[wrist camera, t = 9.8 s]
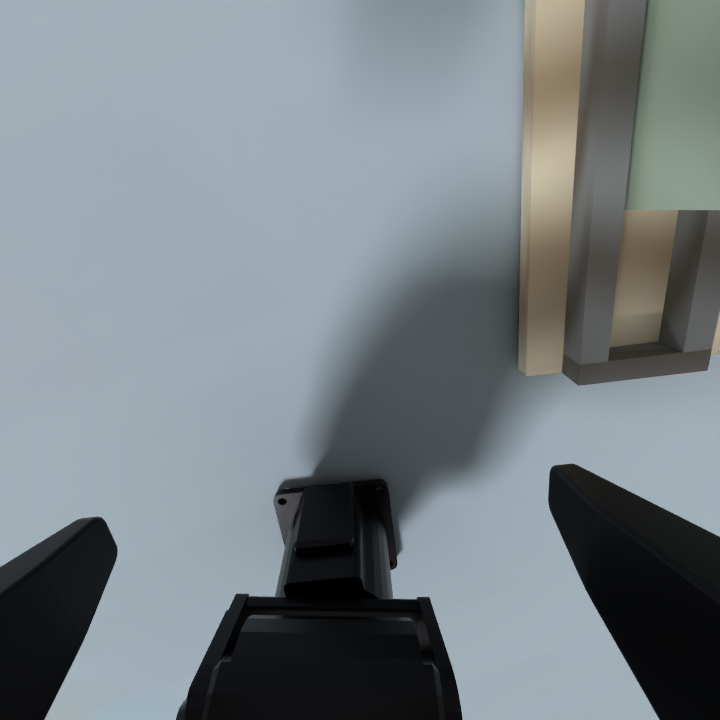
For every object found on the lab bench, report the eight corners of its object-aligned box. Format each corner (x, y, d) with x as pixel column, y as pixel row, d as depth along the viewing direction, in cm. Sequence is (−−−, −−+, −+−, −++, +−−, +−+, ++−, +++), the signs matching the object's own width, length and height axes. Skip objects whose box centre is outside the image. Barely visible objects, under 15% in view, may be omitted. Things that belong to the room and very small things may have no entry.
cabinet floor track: (700, 346, 20) (747, 365, 17) (518, 368, 20) (539, 390, 18) (835, -347, 12) (955, -486, 9) (530, -293, 12) (573, -415, 10)
